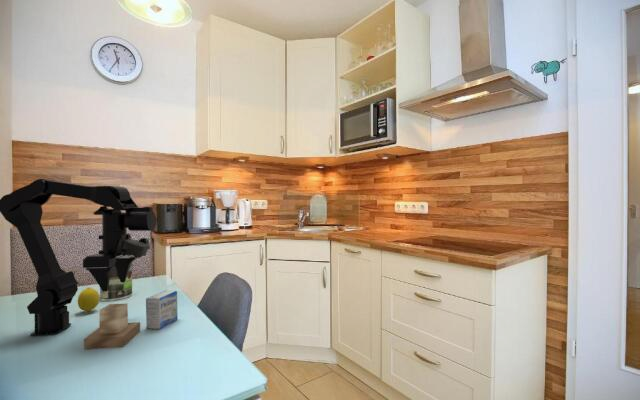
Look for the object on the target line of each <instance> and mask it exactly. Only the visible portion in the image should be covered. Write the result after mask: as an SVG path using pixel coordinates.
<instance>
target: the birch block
mask: <svg viewBox="0 0 640 400" xmlns="http://www.w3.org/2000/svg"><path fill="white" fill-rule="evenodd" d="M128 304H129V303H127V302H126V303H111V304H108V305H106V306H104V307H102V308H101V309H99V311H98V314H99V319H98V320H99V321H98V323H99V328H100V334H111V333H119V332H121V331H122V330H123V329H125V328H126V327H127V326H128V323H129V319H128V318H129V312H128V311H129V310H128V308H129V307H128V306H129V305H128Z"/></svg>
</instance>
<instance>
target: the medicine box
mask: <svg viewBox="0 0 640 400" xmlns="http://www.w3.org/2000/svg"><path fill="white" fill-rule="evenodd" d="M177 319H178V291H177V290H173V289H172V290H171V289H170V290H169V289H168V290H167V289H166V290H163V291H161V292H159V293H158V292H157V293H156V294H154V295H150V296H149V297H146V298H145V322H146V324H145V325H146V329H150V330H151V329H152V330H153V329H154V330H155V329H156V330H161V329H163V328H164V327H166V326H168V325H169V324H171V323H173V322H175V321H177Z"/></svg>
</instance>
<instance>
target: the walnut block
mask: <svg viewBox="0 0 640 400" xmlns="http://www.w3.org/2000/svg"><path fill="white" fill-rule="evenodd" d="M140 332H141V321H138V322H137V321H136V322H128V326H127V327H126V328H125V329H123V330H122V331H121V332H119V333H111V334H100V327H98V328H97V329H96V330H94V331H93V332H91V333H90V334H89V335H87V336H86V337H85V338H83V350H91V349H107V348H124V347H125V346H127V344H129V342H130V341H132V339H134V338H135V337H136V336H137V335H138V334H139V333H140Z"/></svg>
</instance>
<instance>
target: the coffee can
mask: <svg viewBox="0 0 640 400" xmlns="http://www.w3.org/2000/svg"><path fill="white" fill-rule="evenodd" d="M113 266H114V265H113ZM132 296H133V262H132V263H131V266H130V268H129V271H128V274H127V278H126V281H125V282H120V279H119V276H118V273H117V270H116V267H115V268H114V269H113V270H112V271H111V273H110V280H109V287H108V291H106V292H103V291H102V289H101V288H100V287H99V301H102V302H111V301H112V302H114V301H115V302H116V301H119V300H124V299H127V298H130V297H132Z"/></svg>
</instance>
